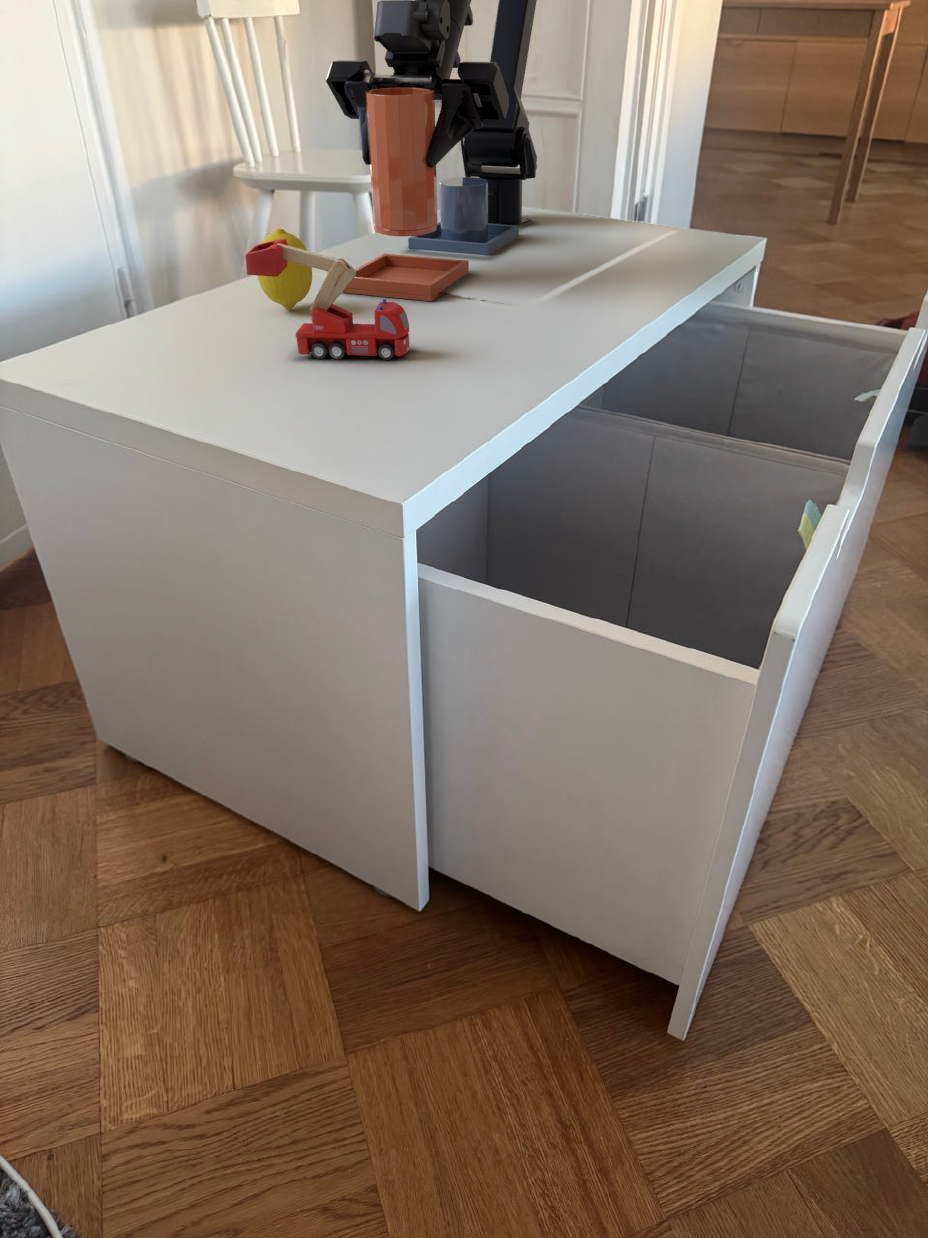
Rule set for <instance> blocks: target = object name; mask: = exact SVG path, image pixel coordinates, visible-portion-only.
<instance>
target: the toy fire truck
mask: <svg viewBox="0 0 928 1238" xmlns="http://www.w3.org/2000/svg"><path fill="white" fill-rule="evenodd" d="M261 243H262V242H261ZM261 243H258V244H255V245H253V247H252V248H251V249H250V250H249V251H247V252H246V253H245V255H244V257H245V267H246V275H247V276H257V277H258V276H271V277H278V276H279V275H280V273H282V271H283V270H284V269H285V268H286V267H287V263H288V261H290V262H294V263H298V264H301V265H305V266H309V267H312V269H313V268H314V269H317V270H320V271H323V272H324V271H325V272H327V275H326V276H325V279H324V281H323V283H322V285H321V286H320V288H319V291H318V292H317V294H316V297H315V298H314V300H313V302H312V304H311V306H310V308H309V311H310V312H311V322H304V323H302V324H301V326H300V327H299V328H298V330H296V332H295V338H296V345H297V352H298V354H299V355H309V354H310V353H311V355H312V356H313V357H314V358H316V359H319V360H322V359H324V358H325V357H326V356H327V355H328V354H329V355H330V356H331V358H333V359H335V360H341V359H343V357H344V356H345V354H347V356H358V357H359V356H360V357H361V356H363V357H364V356H365V357H367V356H368V357H369V356H371V357H374V356H375V357H376V356H379V357H380V358H381V359H382V360H384V361H389V360H391V359H393V357H394V356H396V357H402V356H404V355H405V354H407V353H408V352H409V351H410V333H409V332H410V323H409V318H408V315H407V312H406V310H405V309H404V307H403V306H402V305H400V304H399V303H397V302H395V301H387V299H386V298H382V299H381V300H382V301H379V303H378V304H377V306H376V307H375V309H374V312H373V313H374V315H373V316H374V323H354V317H353V312H351V311H349V310H347V309H345V308H342V307H341V306H338V305H336V304H334V303H335V301H336V300H337V299H338V298H339V297H340V296H341V294H342V293H343V290H344V289H345V288H346V287H347V285H348V284H349V283H350V282H351V280H352V279H353V278H354V276H355V275H356V270H355V269H356V268H354V267H353V266H352V265H351V264H350V263H349V262H348V261H347V260H345V259H344V258H342V257H339V258H336V257H332V256H328V255H324V254H320V253H317V252H313V251H310V250H307V249H306V250H307V251H306V250H302V249H298V248H295V247H291V246H288V243H287V241H286V239H278V240H274V241H269V242H266V243H262V244H261Z"/></svg>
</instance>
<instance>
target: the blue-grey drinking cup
mask: <svg viewBox="0 0 928 1238" xmlns="http://www.w3.org/2000/svg"><path fill="white" fill-rule="evenodd" d="M438 185H439V186H438V187H439V215H440V216H439V217H440V222H441V240H453V241H465V242H477V243H487V242H488V181H487V180H486V179H482V178H479V177H465V176H464V177H463V176H460V177H450V178H445V179H441V180H440V181H439V182H438Z"/></svg>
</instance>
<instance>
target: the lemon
mask: <svg viewBox="0 0 928 1238" xmlns="http://www.w3.org/2000/svg"><path fill="white" fill-rule="evenodd" d="M278 239H286V241H287V243H288V246H291V247H295V248H298V249H302V250H306V251H308V249H307V248H306V245H304V243H303V242H302V241H301V239H300V238H298V237H297V236H296V235H294V234H292V233H290V232H288V231H286V230H284V228H281V227H279V228H275V230H274V232H272V233H270V234H269V235H267V236H266V237H265V238H264V239H263V240H262V241H261V242H260V244H262V243H266V242H269V241H274V240H278ZM257 279H258V283H259V286H260V288H261V290H262V292H263V293H264V295H266V296H267V298H268V299H269V300H271V301H272V302H274V303H276V304H279V305H281V307H283V308H284V309H285V310H287V311H290V310H293V309H294V307H295V306H296V305H297V304H298V303H300V302H302V301H303V300H304V299H305V298H306V297H307V296H308V294H309V292H310V290H311V287H312V282H313V267H309V266H305V265H301V264H298V263H294V262H290V261H288V263H287V267H286V268H285V269H284V270H283V271H282V273H280V275H279V276H278V277H271V276H257Z"/></svg>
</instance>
